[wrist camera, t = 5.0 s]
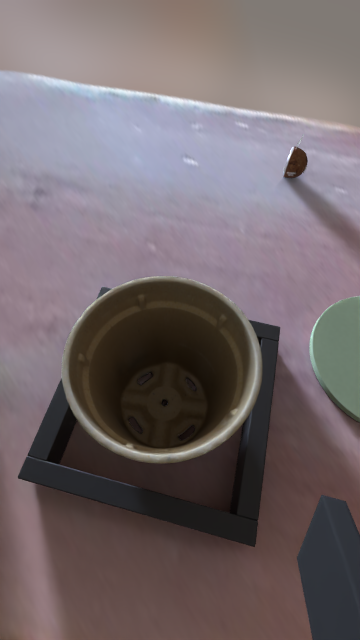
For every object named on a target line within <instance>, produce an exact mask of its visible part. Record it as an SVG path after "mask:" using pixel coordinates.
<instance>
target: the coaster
mask: <svg viewBox="0 0 360 640" xmlns="http://www.w3.org/2000/svg"><path fill="white" fill-rule="evenodd" d="M310 358H311V362H312V366H313V369H314V372H315V374H316V377H317V379H318V381H319V382H320V384H321V386H322V388H323V389H324V390H325V392H326V393H327V395H328V396H329V397H330V398H331V399H332V401H333V402H334V403H335V404H336V405H337V406H338V407H339V408H340V409H341V410H343V411H344V412H345V413H346V414H348V415H349V416H350V417H352V418H353V419H355V420H356V421H358V422H360V296H358V297H351V298H348V299H344V300H341V301H339V302H337V303H335V304H334V305H332V306H330V307H329V308H328V309H327V310H326V311H325V312H324V313H323V314H322V315H321V317H320V318H319V319H318V320H317V322H316V324H315V326H314V328H313V330H312V333H311V338H310Z"/></svg>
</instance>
